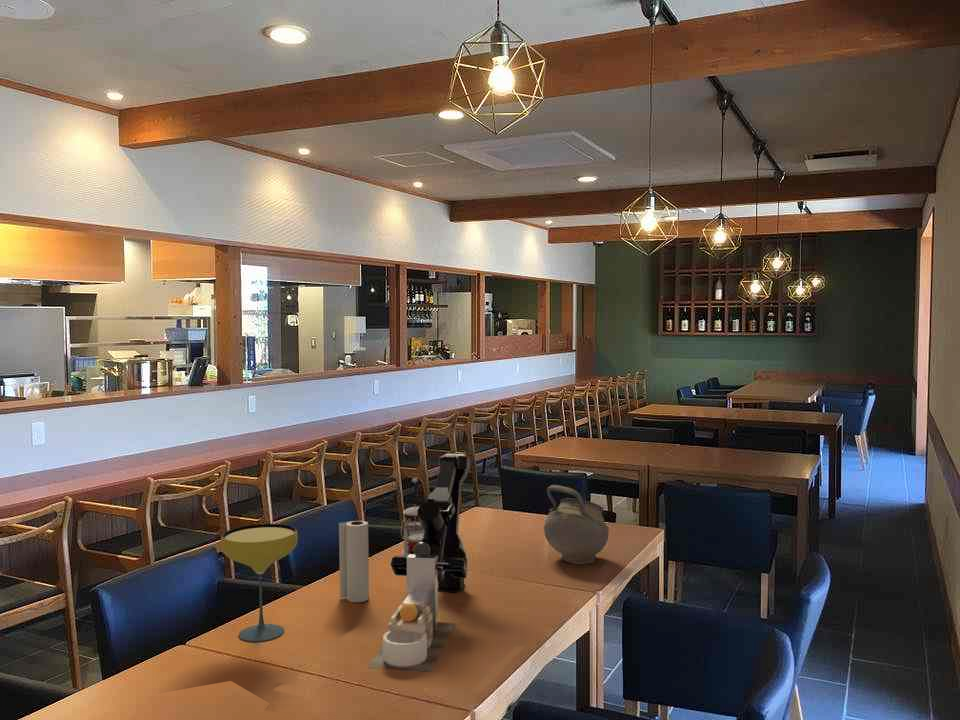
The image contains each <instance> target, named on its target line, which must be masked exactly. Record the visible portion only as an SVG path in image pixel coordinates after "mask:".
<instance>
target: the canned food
mask: <svg viewBox="0 0 960 720" xmlns="http://www.w3.org/2000/svg"><path fill="white" fill-rule="evenodd" d="M423 534H424V533H421V534H413V535H410V536H409V535H408V555H409V554H413V555H415V554H414V547H415V545H416V544H417V543H419V542H421V541H422V539H423Z"/></svg>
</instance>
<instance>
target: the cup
mask: <svg viewBox="0 0 960 720" xmlns="http://www.w3.org/2000/svg"><path fill="white" fill-rule="evenodd" d="M382 637H383V638H382V646H383V658H384V662H385V663H386V664H388V665H390V666H394V667H412V666H416V665H419V664H421V663H423V662H424V661H425V660H426V659H427V634H426V632H424V633H415V632H397V631H389V630H388V631H387V632H385V633H384V634H383V636H382Z"/></svg>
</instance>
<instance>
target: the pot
mask: <svg viewBox="0 0 960 720" xmlns="http://www.w3.org/2000/svg"><path fill="white" fill-rule="evenodd" d="M551 491H553V492H560V493H564V494H565V493H566V494H569V495H572V496H573V497H575V498H571V497H569V498H568V497H567V498H566V497H564V498H561V499H560V503H559V505H558V504H557V502H556V501H555V499H554V497H553V494H552V492H551ZM546 494H547V496H548V499H549V500H550V501H551V504H552V505H553V507H552V508H550V509H548V511H549V512H548V515H547V517H546V519H545V522H544V525H543V533H544V536H545V539H546V541H547V543H548V545H549V546H551V547H552V549H554V550H555V551H556V552H557V553H558V552H559V553H560V555H561V557H562V560H563V561H564V562H567V563H571V564H576V565H577V564H579V565H580V564H581V565H585V563H586V564H590V563H593V562H594V561H595V558H596V556H597V555H598V554H599V553H601V551H602V550H603V549H604V548H605V546H606V544H607V542H609V541H608V540H609V536H610V535H609V531H610V528H609V526H608V525H607V524H606V522H605V518H604V516H603V514H602V513H603V512H604V508H603V507H602V506H601V505H599V504H597V503H595V502H593V501H589V500H584V499H583V497H582V495H581V493H579V492H578V491H577V490H576V489H573V488H571V487H568V486H563V485H558V484H552V485H550V486H548V487H547V488H546ZM557 505H558V506H557Z"/></svg>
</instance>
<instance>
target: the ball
mask: <svg viewBox="0 0 960 720" xmlns="http://www.w3.org/2000/svg"><path fill="white" fill-rule="evenodd" d="M400 616H401V618H402V619H403V620H404V621H406V622H411V621H413V620H414V619H415V618H416V617H417V608H416V607H415V606H414V605H413V604H410V603H407V604H405V605H403V606H402V607H401V609H400Z"/></svg>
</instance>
